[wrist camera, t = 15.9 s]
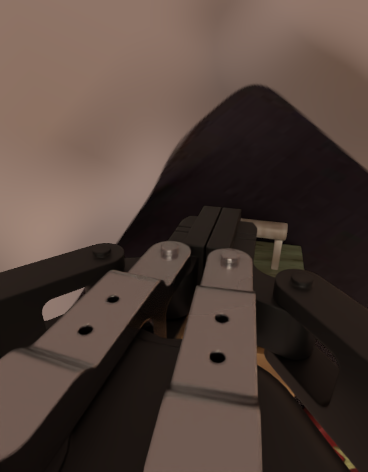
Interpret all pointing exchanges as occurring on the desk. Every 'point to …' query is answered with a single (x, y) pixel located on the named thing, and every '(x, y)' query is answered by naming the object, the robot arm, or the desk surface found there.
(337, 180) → the desk surface
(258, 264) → the drawer
